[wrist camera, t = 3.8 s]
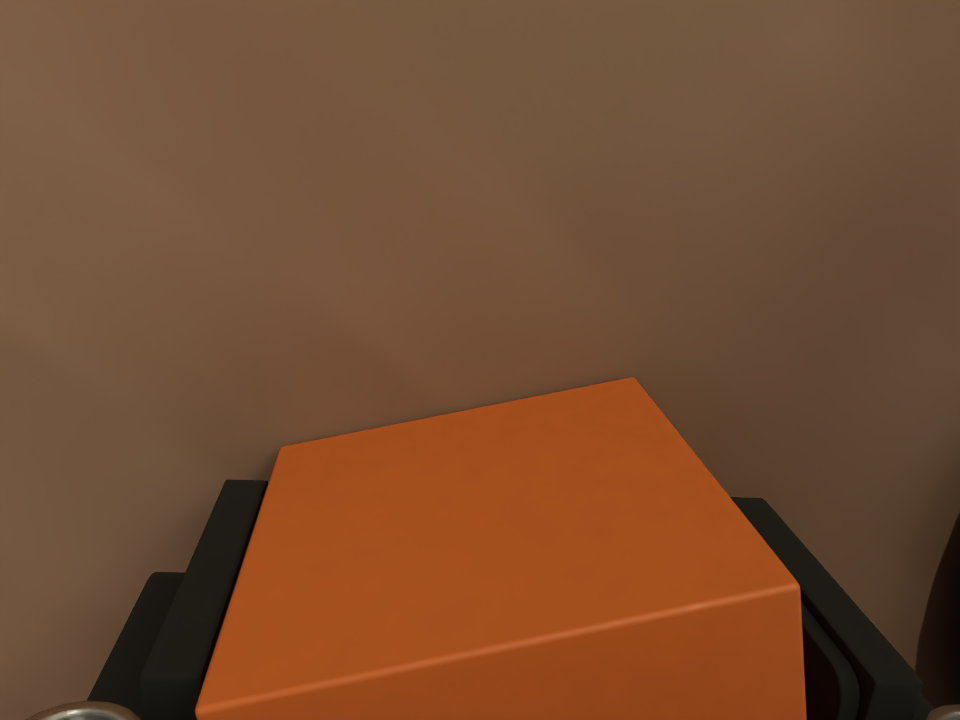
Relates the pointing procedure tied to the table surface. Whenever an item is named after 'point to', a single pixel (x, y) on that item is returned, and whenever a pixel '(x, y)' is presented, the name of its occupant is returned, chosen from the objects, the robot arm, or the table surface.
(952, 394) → the table surface
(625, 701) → the block
